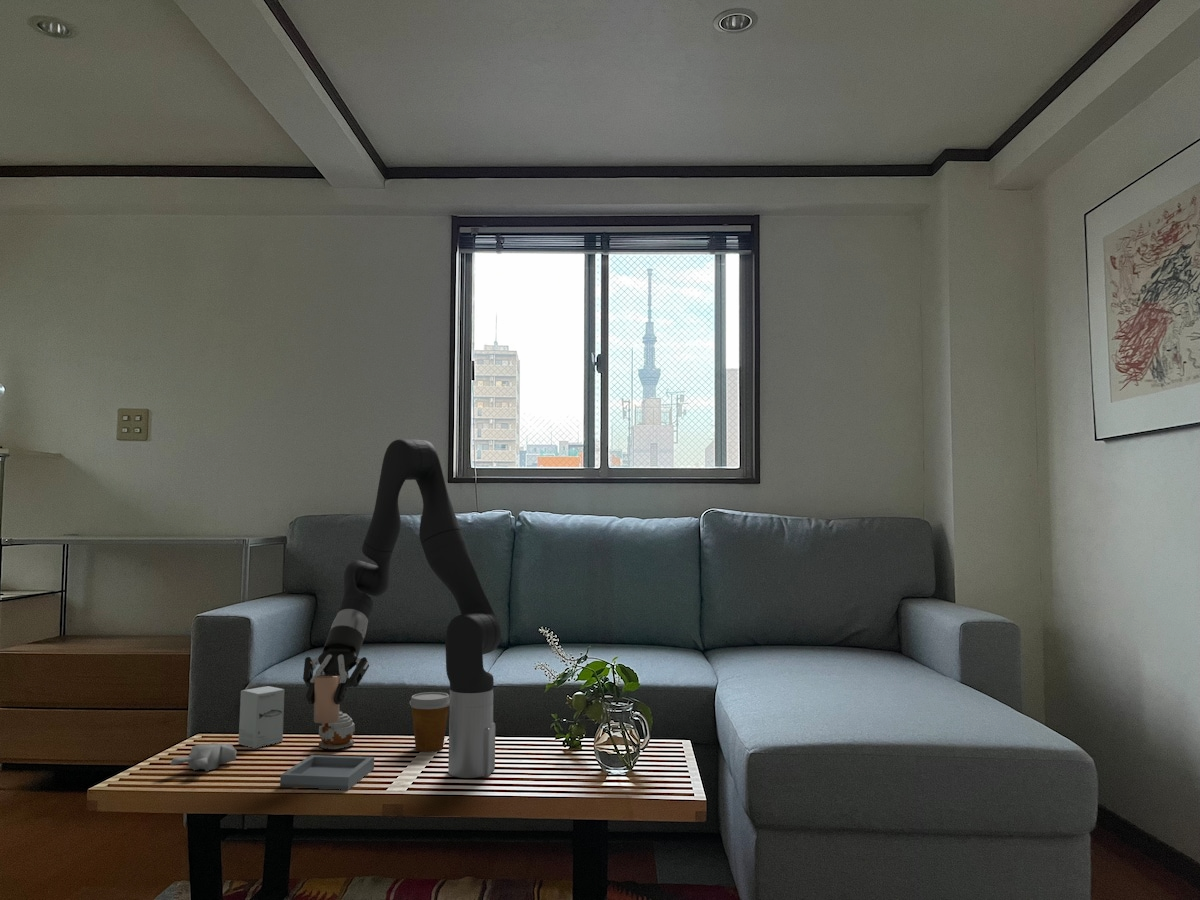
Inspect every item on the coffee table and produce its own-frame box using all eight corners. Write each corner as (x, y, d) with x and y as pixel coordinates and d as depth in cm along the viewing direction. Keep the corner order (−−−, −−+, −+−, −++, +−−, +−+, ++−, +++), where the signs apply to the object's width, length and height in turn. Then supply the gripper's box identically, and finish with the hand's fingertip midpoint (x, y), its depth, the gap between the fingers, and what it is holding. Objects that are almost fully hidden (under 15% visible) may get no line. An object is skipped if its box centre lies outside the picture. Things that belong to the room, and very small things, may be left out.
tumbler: (343, 717, 175) (343, 673, 176) (333, 723, 170) (334, 678, 171) (320, 717, 176) (320, 673, 177) (309, 723, 171) (310, 678, 172)
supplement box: (254, 749, 193) (256, 693, 194) (237, 744, 198) (239, 689, 199) (283, 742, 199) (285, 688, 200) (266, 737, 203) (268, 684, 204)
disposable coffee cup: (453, 751, 192) (454, 698, 193) (412, 755, 188) (413, 701, 189) (445, 741, 201) (446, 690, 202) (405, 745, 197) (406, 693, 198)
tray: (373, 769, 178) (374, 757, 178) (348, 790, 164) (348, 777, 165) (310, 767, 180) (311, 755, 180) (280, 787, 166) (280, 774, 166)
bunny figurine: (247, 740, 186) (209, 750, 171) (245, 765, 185) (206, 777, 170) (207, 739, 187) (166, 749, 172) (205, 763, 186) (163, 775, 171)
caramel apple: (317, 744, 198) (319, 679, 199) (351, 741, 201) (352, 677, 202) (320, 752, 191) (322, 685, 192) (355, 749, 194) (357, 683, 195)
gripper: (310, 624, 183) (284, 691, 170) (374, 624, 182) (352, 691, 169) (320, 645, 188) (295, 712, 175) (382, 645, 186) (361, 712, 173)
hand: (323, 701), depth 172 cm, fingers closed on tumbler, 5 cm apart
